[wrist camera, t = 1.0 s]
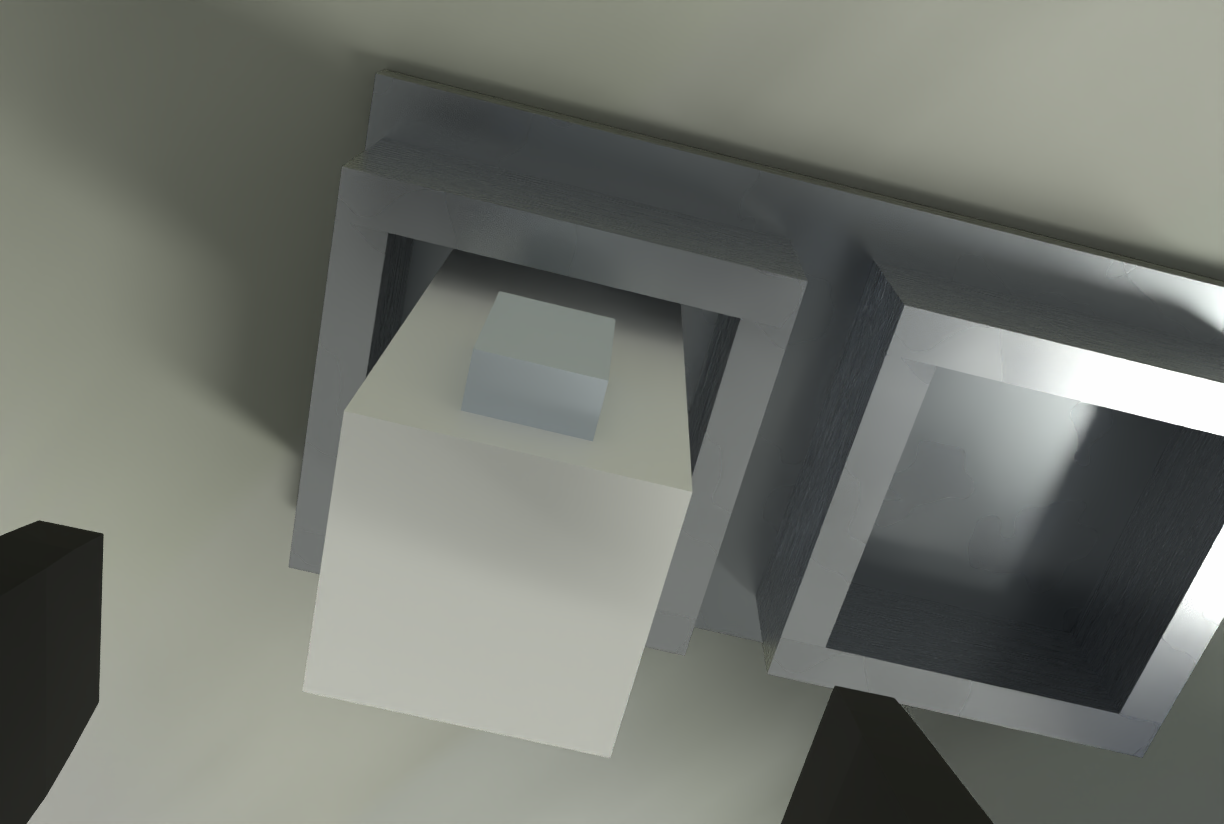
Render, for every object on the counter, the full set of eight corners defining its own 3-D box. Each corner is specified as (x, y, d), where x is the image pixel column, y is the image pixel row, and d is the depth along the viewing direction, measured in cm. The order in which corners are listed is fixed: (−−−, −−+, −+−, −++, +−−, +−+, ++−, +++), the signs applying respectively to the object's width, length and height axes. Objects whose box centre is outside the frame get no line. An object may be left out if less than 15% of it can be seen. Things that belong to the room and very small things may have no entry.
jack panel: (1072, 695, 22) (1130, 801, 19) (319, 525, 21) (268, 611, 18) (1282, 296, 18) (1391, 357, 16) (384, 69, 18) (334, 92, 15)
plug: (625, 497, 20) (610, 758, 14) (418, 449, 20) (302, 691, 13) (692, 257, 18) (711, 430, 12) (463, 201, 18) (353, 345, 11)
